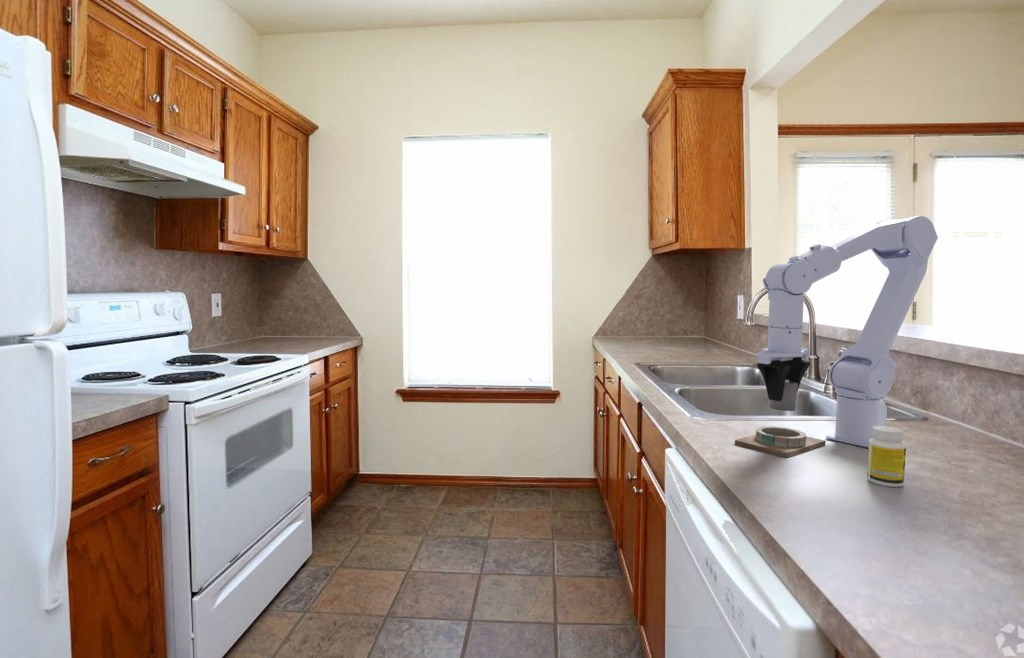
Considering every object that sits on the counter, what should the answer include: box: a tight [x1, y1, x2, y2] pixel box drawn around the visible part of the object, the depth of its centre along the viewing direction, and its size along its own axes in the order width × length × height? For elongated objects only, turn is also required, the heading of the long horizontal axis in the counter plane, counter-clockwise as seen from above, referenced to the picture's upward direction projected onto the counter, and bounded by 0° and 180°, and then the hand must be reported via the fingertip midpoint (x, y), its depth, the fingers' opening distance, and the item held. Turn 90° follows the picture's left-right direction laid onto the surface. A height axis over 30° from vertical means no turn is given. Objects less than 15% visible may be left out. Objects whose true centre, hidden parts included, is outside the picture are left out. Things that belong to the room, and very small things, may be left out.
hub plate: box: [734, 425, 827, 458], centre depth 103 cm, size 14×10×2 cm
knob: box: [769, 380, 798, 412], centre depth 102 cm, size 4×4×5 cm
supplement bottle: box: [866, 425, 907, 488], centre depth 83 cm, size 5×5×8 cm
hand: (782, 398), depth 102 cm, fingers closed on knob, 4 cm apart
